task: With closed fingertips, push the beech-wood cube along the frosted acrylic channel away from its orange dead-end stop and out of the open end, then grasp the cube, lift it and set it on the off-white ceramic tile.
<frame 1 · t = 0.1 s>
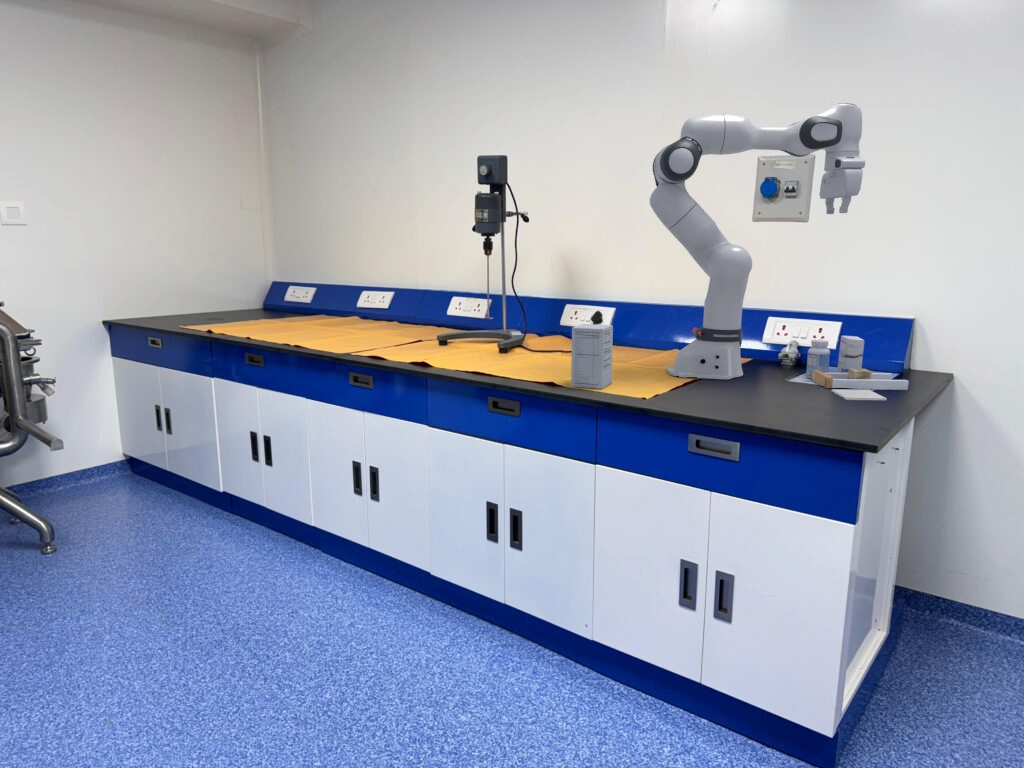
hand: (836, 213, 203), 48 cm above the table, fingers open, 8 cm apart
ink box: (848, 376, 213), on the table
channel: (858, 385, 199), on the table
tile: (858, 395, 186), on the table
supplement box: (591, 385, 198), on the table
cube: (859, 377, 199), in the channel
pill bottle: (816, 378, 209), on the table
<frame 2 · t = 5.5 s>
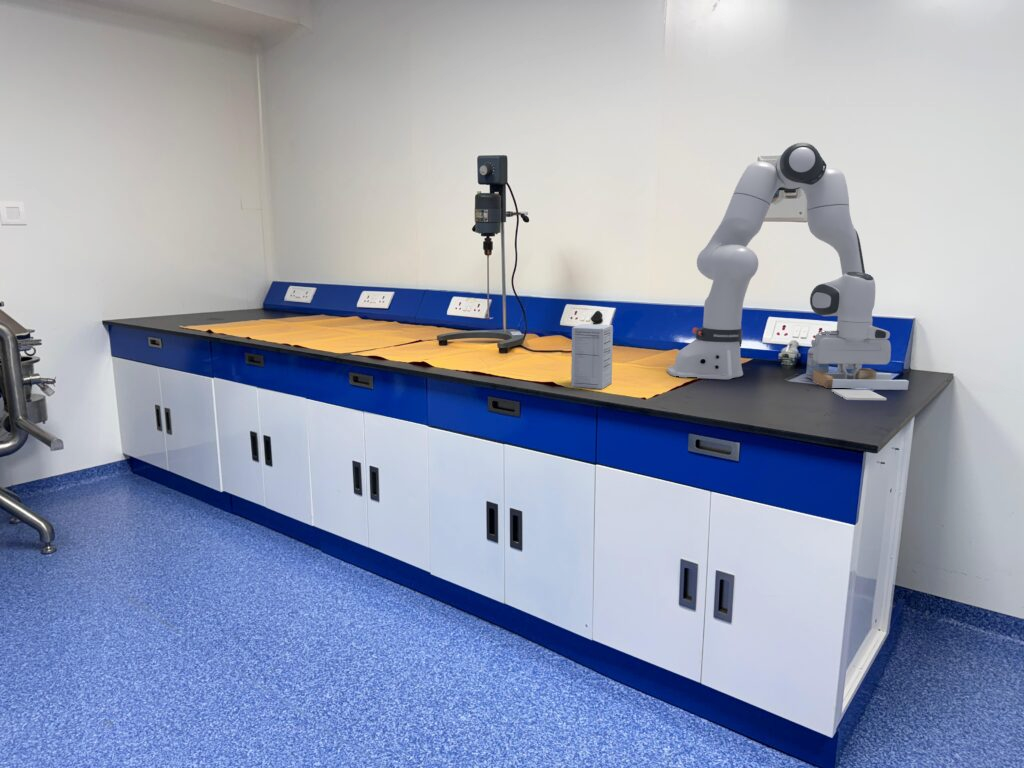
hand: (848, 379, 199), 2 cm above the table, fingers closed
cube: (864, 377, 199), in the channel, touching gripper
everything else where it was.
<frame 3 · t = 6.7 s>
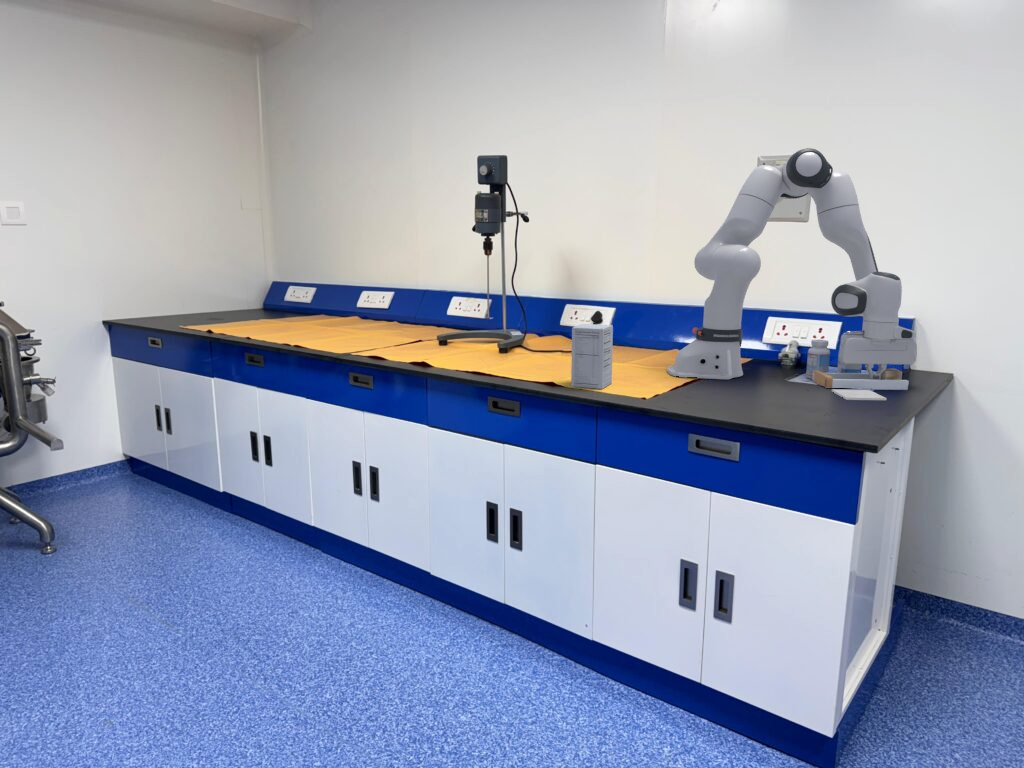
hand: (874, 379, 198), 2 cm above the table, fingers closed
cube: (889, 377, 198), on the table, touching gripper
everything else where it was.
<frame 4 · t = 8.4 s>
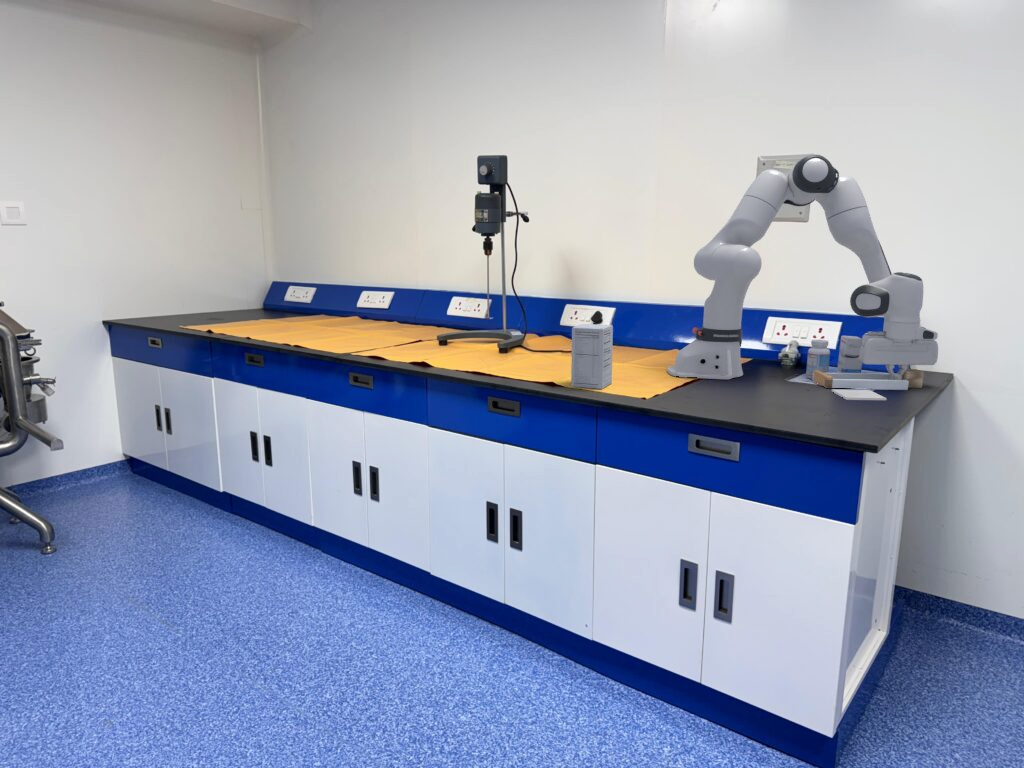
hand: (894, 380, 198), 2 cm above the table, fingers closed
cube: (910, 378, 198), on the table, touching gripper
everything else where it was.
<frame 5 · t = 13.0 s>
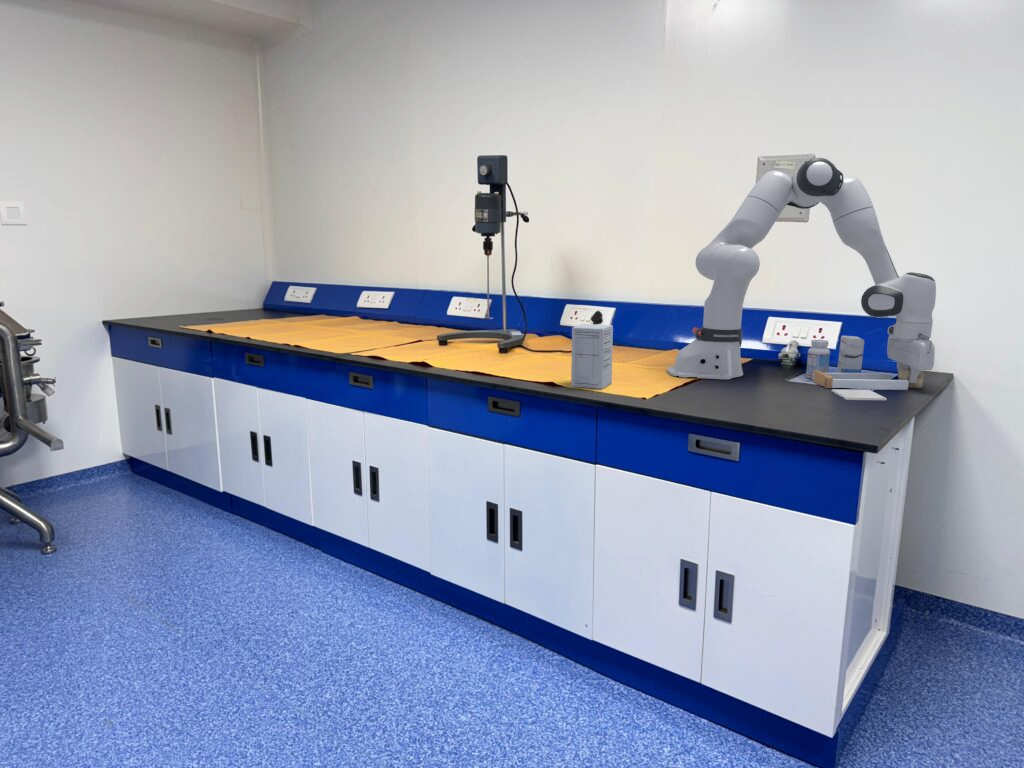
hand: (906, 380, 198), 2 cm above the table, fingers closed on cube, 5 cm apart
cube: (910, 378, 198), on the table, touching gripper
everything else where it was.
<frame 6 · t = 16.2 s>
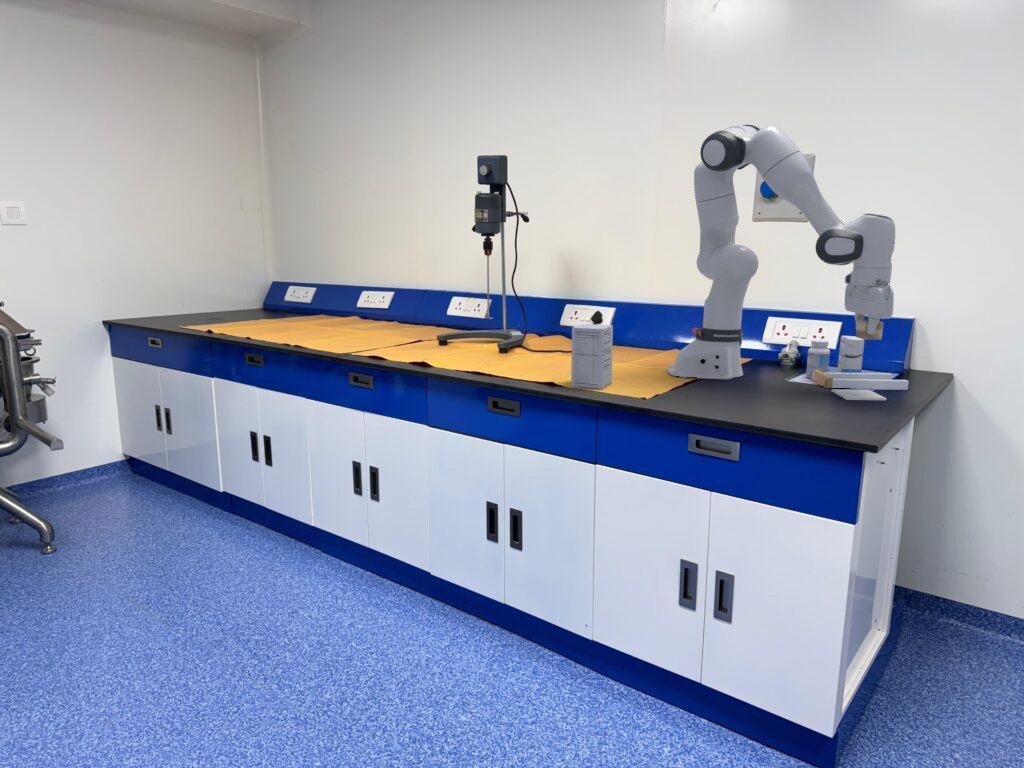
hand: (865, 332, 182), 17 cm above the table, fingers closed on cube, 4 cm apart
cube: (869, 329, 182), point 18 cm above the table, touching gripper
everything else where it was.
when the fingers open (3 cm above the table, at t = 19.1 s): cube drops 1 cm, resting on tile.
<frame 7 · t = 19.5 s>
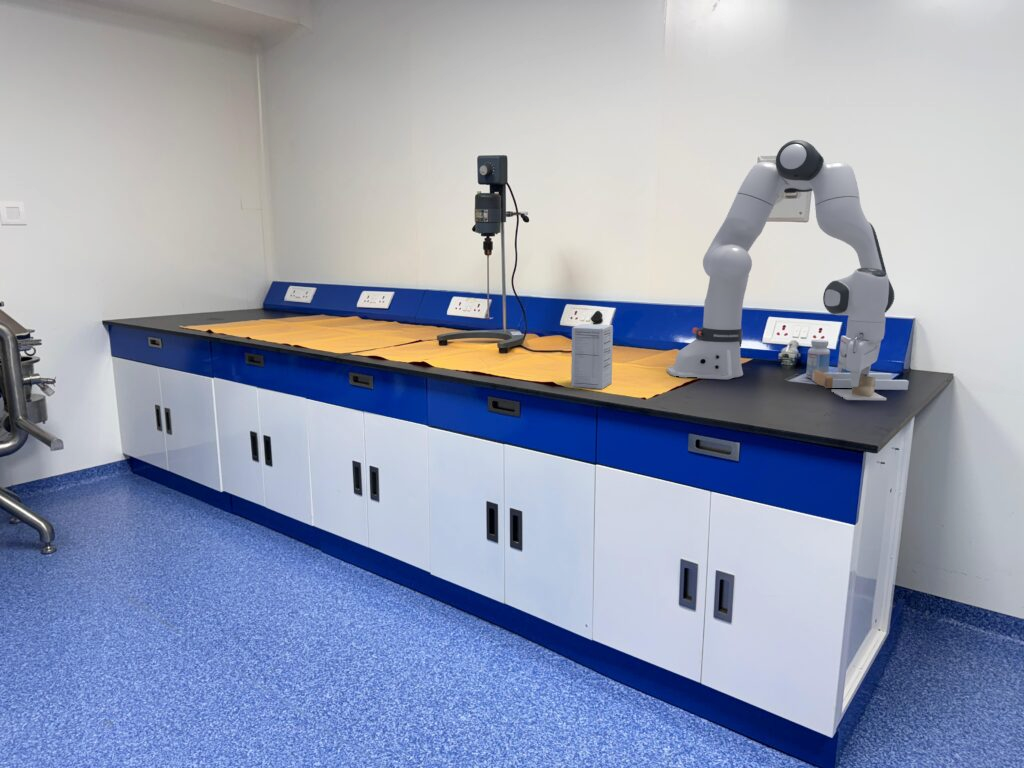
hand: (859, 383, 185), 3 cm above the table, fingers open, 8 cm apart
cube: (863, 385, 184), on the tile, point 3 cm above the table
everything else where it was.
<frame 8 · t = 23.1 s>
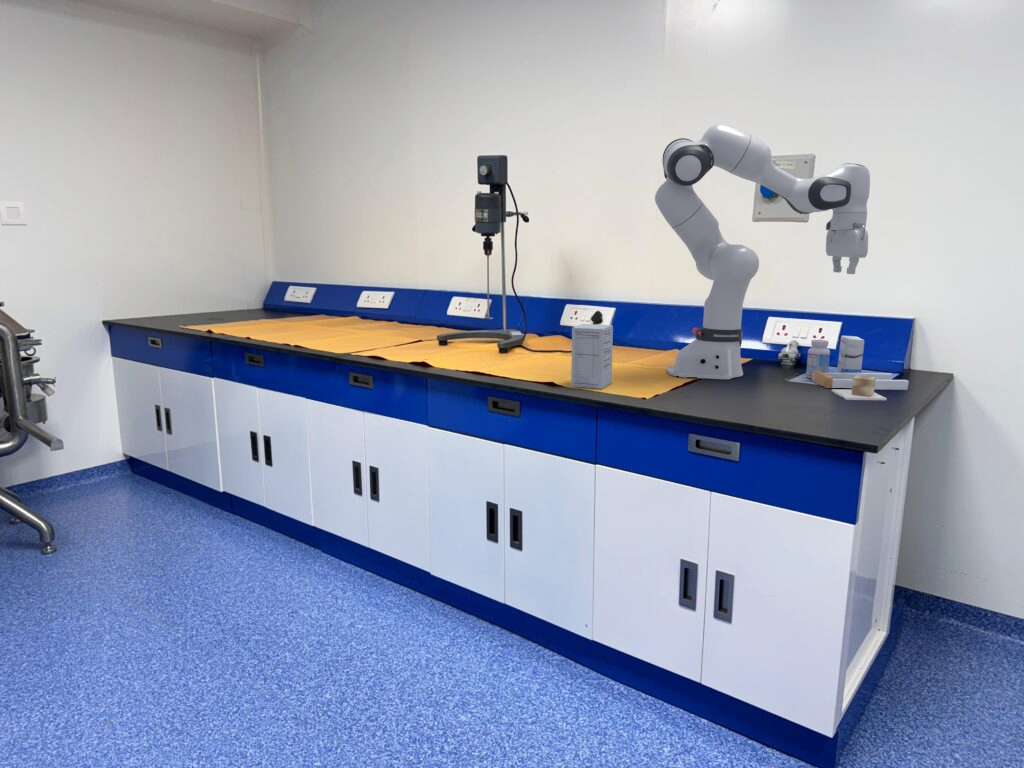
hand: (843, 273, 201), 31 cm above the table, fingers open, 8 cm apart
nothing on the table moved.
at the end: cube inside the target area on the tile (1.1 cm from its centre), point 2.8 cm above the tile's base; the gripper is holding nothing; cube tilted 0° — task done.
